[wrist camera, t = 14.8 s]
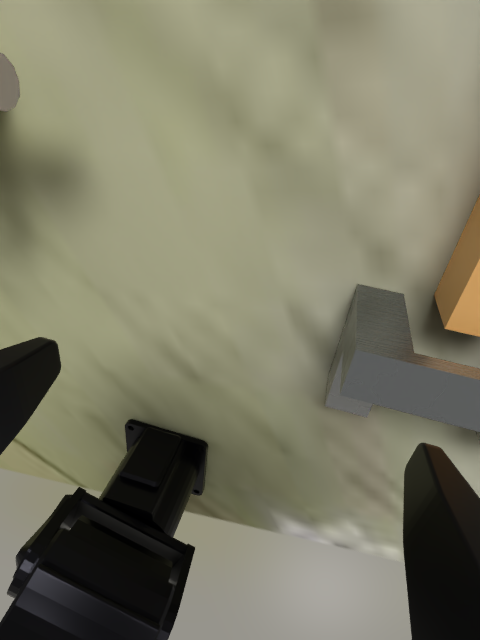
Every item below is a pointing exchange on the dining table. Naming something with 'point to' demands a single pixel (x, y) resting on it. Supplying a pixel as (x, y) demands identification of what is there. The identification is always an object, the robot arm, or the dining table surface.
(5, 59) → the pipe connector
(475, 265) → the plug
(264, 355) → the dining table surface
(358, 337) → the frame
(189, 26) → the dining table surface
